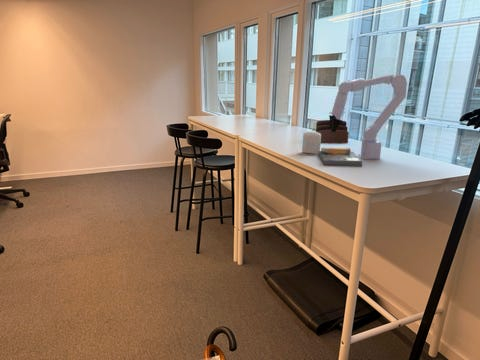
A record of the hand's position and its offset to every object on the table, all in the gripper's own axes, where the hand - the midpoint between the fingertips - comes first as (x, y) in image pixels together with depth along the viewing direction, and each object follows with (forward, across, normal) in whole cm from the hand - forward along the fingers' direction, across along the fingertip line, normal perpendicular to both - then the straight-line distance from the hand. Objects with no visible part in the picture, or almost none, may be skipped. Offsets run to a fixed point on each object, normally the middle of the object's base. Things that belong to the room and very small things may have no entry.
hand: (332, 130), depth 182 cm
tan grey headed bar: (+10, +8, +3) cm, 13 cm away
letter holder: (+14, -40, +10) cm, 44 cm away
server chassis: (+12, +14, +5) cm, 19 cm away
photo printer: (+16, -2, -7) cm, 17 cm away
